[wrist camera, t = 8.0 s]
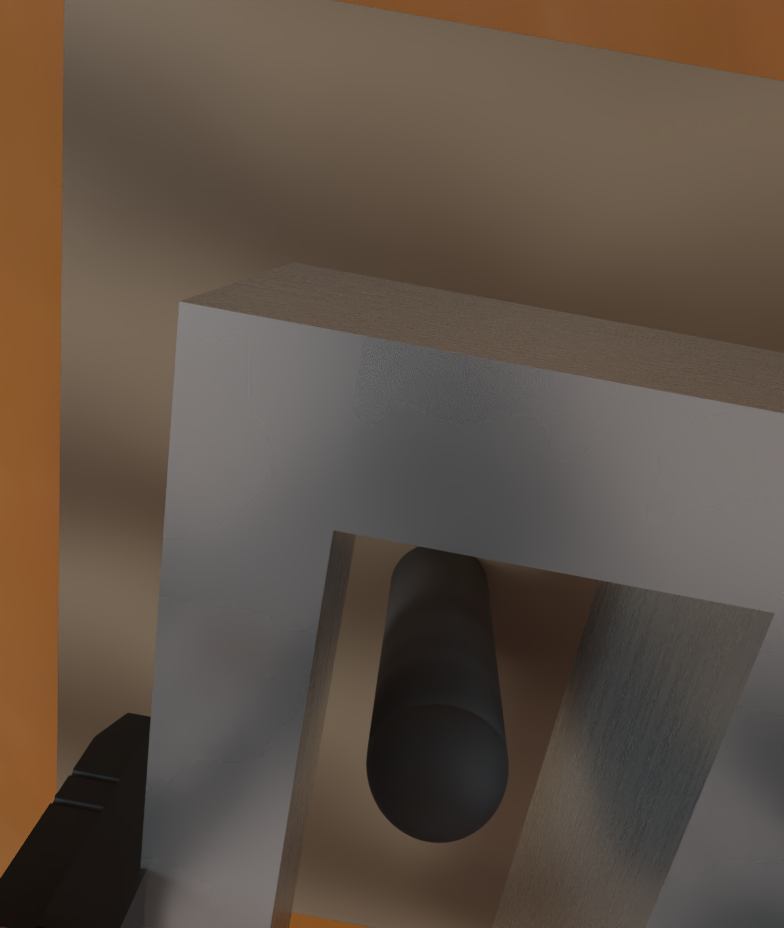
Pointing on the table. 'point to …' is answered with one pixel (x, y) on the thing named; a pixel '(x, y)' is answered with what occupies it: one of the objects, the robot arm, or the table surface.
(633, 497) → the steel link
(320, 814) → the keeper plate
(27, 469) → the table surface
